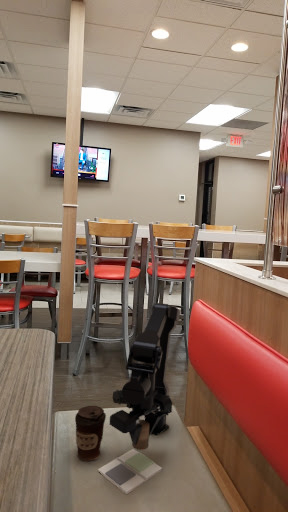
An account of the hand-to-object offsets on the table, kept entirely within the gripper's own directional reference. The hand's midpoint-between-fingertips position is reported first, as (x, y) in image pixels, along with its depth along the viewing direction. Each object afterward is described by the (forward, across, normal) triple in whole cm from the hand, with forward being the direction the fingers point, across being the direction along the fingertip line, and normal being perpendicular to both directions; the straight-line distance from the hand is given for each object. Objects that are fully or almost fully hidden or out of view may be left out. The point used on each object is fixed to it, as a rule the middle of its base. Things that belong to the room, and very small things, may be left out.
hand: (140, 440), depth 103 cm
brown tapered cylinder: (+1, 0, 0) cm, 1 cm away
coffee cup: (+7, +8, -12) cm, 16 cm away
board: (+7, +4, 0) cm, 8 cm away
